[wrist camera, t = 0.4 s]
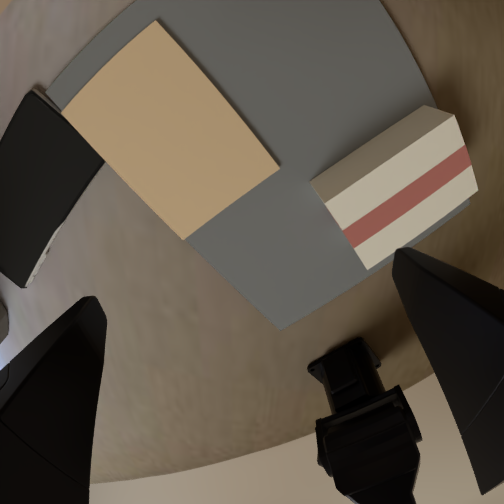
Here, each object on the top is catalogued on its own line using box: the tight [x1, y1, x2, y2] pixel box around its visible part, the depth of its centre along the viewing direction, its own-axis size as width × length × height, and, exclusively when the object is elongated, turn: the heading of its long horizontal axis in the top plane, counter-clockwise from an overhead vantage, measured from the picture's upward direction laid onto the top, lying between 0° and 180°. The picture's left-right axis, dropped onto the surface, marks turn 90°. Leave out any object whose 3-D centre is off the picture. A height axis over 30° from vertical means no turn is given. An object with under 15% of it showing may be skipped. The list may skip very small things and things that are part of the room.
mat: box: [45, 0, 470, 331], centre depth 19 cm, size 26×20×1 cm
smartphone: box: [0, 89, 106, 288], centre depth 19 cm, size 8×1×15 cm
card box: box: [310, 105, 478, 270], centre depth 19 cm, size 10×6×4 cm, turn 127°
